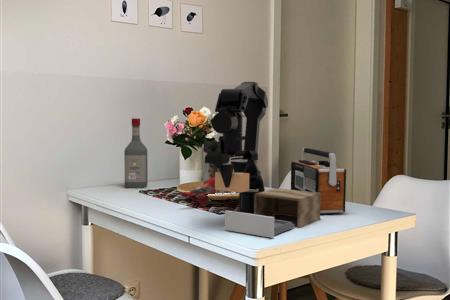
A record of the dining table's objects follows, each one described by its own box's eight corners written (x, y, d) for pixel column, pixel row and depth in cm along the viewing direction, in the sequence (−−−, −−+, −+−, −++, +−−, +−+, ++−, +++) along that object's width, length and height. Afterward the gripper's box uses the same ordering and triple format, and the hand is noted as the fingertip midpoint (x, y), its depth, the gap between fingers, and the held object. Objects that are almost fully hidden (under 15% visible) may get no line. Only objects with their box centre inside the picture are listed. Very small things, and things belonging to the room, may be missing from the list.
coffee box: (231, 199, 185) (232, 156, 184) (224, 202, 179) (225, 158, 178) (210, 197, 189) (210, 155, 187) (202, 200, 183) (202, 157, 182)
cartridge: (214, 189, 143) (215, 172, 142) (224, 187, 146) (224, 170, 146) (240, 192, 137) (240, 174, 137) (249, 190, 141) (249, 173, 140)
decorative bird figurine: (221, 205, 173) (222, 176, 172) (180, 210, 162) (180, 180, 161) (216, 203, 175) (217, 176, 174) (175, 209, 164) (175, 179, 163)
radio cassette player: (289, 200, 183) (290, 147, 182) (315, 200, 185) (316, 147, 184) (316, 216, 154) (318, 153, 153) (347, 215, 156) (349, 153, 155)
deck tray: (272, 237, 126) (272, 217, 125) (224, 229, 134) (224, 210, 134) (297, 227, 137) (297, 209, 137) (252, 220, 146) (252, 203, 145)
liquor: (145, 188, 210) (144, 118, 208) (123, 188, 210) (123, 118, 207) (148, 185, 219) (147, 118, 217) (127, 185, 219) (127, 118, 217)
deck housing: (299, 228, 138) (299, 199, 138) (254, 221, 147) (254, 193, 146) (320, 219, 150) (320, 192, 149) (277, 213, 158) (277, 188, 158)
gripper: (229, 131, 153) (228, 180, 154) (189, 132, 138) (189, 187, 139) (259, 132, 146) (258, 184, 147) (221, 133, 131) (220, 191, 132)
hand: (231, 186), depth 142 cm, fingers closed on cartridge, 4 cm apart
